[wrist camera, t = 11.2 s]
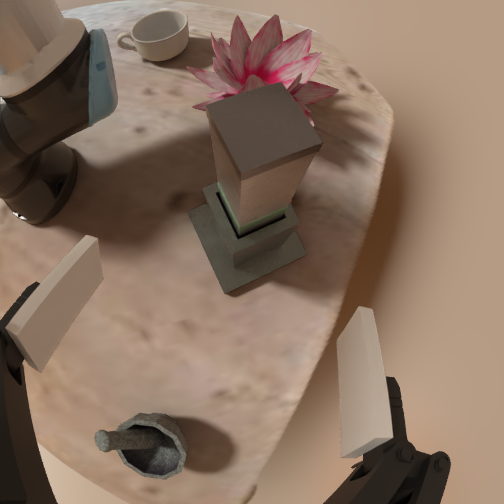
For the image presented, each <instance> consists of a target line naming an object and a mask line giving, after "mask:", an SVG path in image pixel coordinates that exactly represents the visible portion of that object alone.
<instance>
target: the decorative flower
mask: <svg viewBox="0 0 504 504" xmlns="http://www.w3.org/2000/svg"><path fill="white" fill-rule="evenodd" d="M311 35H312V31H311V30H310V29H307V30H305V31H302V32H300V33H298V34H296V35H294V36H292V37H291V38H289V39H287V40H286V41H284V42H283V35H282V30H281V25H280V20H279V16H278V15H274V16H273V17H272V18H271V19H269V20H268V21H267V22H266V23H265V24H264V26H263V27H262V28H261V29H260V31H259V32H258V33H257V35H256V36H255V37H254V39H253V41H252V42H251V40H250V38H249V36H248V34H247V31H246V29H245V27H244V25H243V23H242V21H241V20H240V18H239V16H238V15H237V17H236V18H235V21H234V24H233V28H232V33H231V40H230V45H229V44H228V43H227V42H226V41H225V40H224V39H222V38H219V45H218V44H217V42H216V41H215V39H214V37H213V35H212V33H211V38H212V47H213V49H214V52H215V54H216V57H217V59H218V60H217V59H216V58H215V57H212V59H213V67H214V71H215V72H216V73H215V72H210V71H204V70H200V69H197V68H193V67H189V66H186V68H187V69H188V70H189V71H190V72H191V73H192V74H193V75H194V76H195V77H196V78H198V79H199V80H201V81H203V82H204V83H206V84H207V85H209V86H210V87H212V88H214V89H216V90H219V91H221V92H216V93H211V94H206V96H207V97H210V98H212V99H211V100H208V101H206V102H203V103H200V104H198V105H195V106H193V108H195V109H199V110H203V111H206V106H205V105H207V104H210V103H213V102H216V101H218V100H221V99H224V98H227V97H230V96H233V95H236V94H239V93H243V92H246V91H249V90H252V89H256V88H259V87H263V86H266V85H270V84H274V83H277V82H282V83H283V84H284V86H285V87H286V89H287V90H288V91H289V93H290V94H291V95H292V97H293V98H294V100H295V101H296V102H297V104H298V105H299V107H300V108H301V110H302V111H303V113H304V114H305V115H306V117H307V118H308V120H309V121H310V123H311V124H312V126H314V123H313V121H312V119H311V117H310V115H309V113H310V112H312V111H311V110H310V109H309V108H308V107H307V106H306V105H307V104H312V103H315V102H317V101H320V100H323V99H325V98H328V97H330V96H332V95H334V94H335V93H337V92H339V90H338V89H336V88H333V87H330V86H327V85H324V84H320V83H317V82H313V81H308V80H309V79H310V77H311V76H312V75H313V73H314V72H315V70H316V69H317V67H318V65H319V62H320V60H321V58H322V55H323V54H322V52H321V53H318V52H316V53H310V54H309V50H310V45H311Z"/></svg>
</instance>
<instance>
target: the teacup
mask: <svg viewBox="0 0 504 504" xmlns="http://www.w3.org/2000/svg"><path fill="white" fill-rule="evenodd" d="M124 37H128V38H130V39H131V40H132V41H134V43H135V44H127V43H124V42H123V41H122V38H124ZM188 40H189V30H188V18H187V16H186V15H185V14H184V13H183V12H180V11H176V10H162V11H157V12H154V13H151V14H148V15H146V16H145V17H143V18H141V19H140V20H139V21H137V22H136V23H135V25H134V26H133V28H132V30H131V32H128V31H127V32H123V33H121V34H120V35H119V36H118V37H117V44H118V46H119V47H121V48H123V49H128V50H134V51H136V52H139V54H140V55H141V56H142V57H143V58H144V59H147V60H150V61H164V60H168V59H171V58H173V57H175V56H176V55H178V54H179V53H181V52H182V51H183V50H184V49H185V47H186V46H187V44H188Z"/></svg>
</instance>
